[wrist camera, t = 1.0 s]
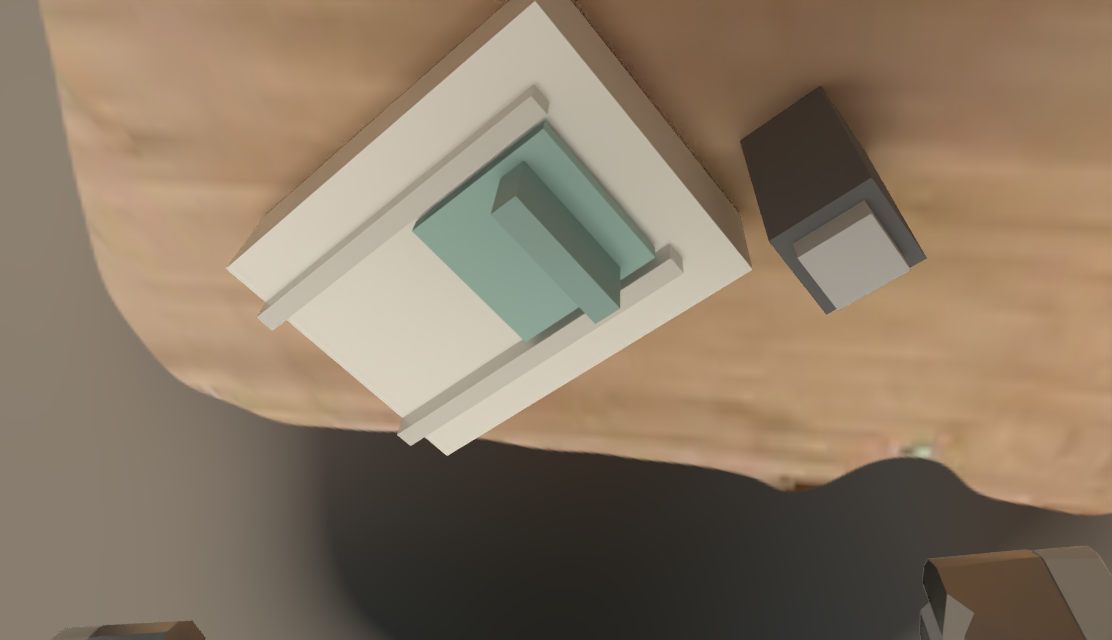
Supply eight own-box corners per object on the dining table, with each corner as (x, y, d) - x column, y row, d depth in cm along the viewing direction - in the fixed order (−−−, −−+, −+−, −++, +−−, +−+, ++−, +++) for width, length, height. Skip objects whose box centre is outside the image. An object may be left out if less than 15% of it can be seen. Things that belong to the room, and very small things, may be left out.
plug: (820, 85, 36) (879, 190, 28) (866, 154, 38) (935, 272, 29) (739, 141, 38) (773, 255, 29) (787, 204, 39) (831, 330, 31)
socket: (545, -32, 34) (531, 10, 29) (739, 213, 40) (756, 284, 34) (265, 215, 41) (215, 283, 36) (462, 392, 47) (442, 472, 42)
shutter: (544, 120, 32) (536, 162, 29) (654, 247, 35) (657, 298, 32) (415, 221, 35) (395, 269, 32) (527, 331, 38) (518, 385, 35)
